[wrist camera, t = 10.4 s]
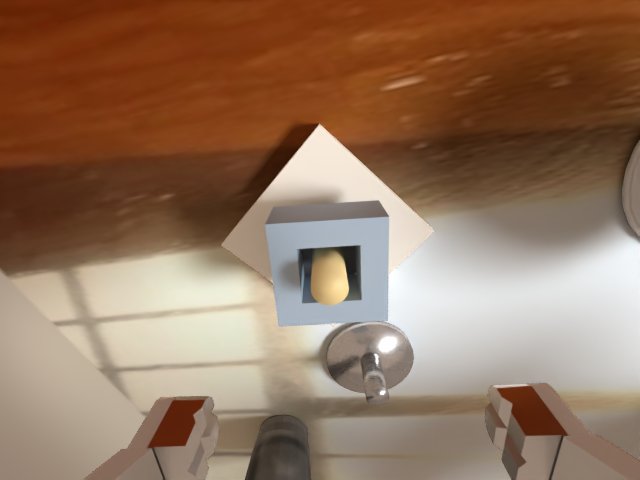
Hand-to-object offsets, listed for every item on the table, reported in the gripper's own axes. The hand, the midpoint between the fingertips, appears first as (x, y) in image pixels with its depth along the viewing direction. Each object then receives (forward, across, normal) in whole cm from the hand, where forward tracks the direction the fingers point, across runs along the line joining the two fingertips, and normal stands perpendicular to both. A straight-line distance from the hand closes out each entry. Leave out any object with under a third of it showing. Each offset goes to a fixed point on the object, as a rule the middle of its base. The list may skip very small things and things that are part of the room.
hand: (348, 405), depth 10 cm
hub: (+14, +1, 0) cm, 14 cm away
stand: (+14, -2, +11) cm, 18 cm away
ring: (+11, 0, 0) cm, 11 cm away
